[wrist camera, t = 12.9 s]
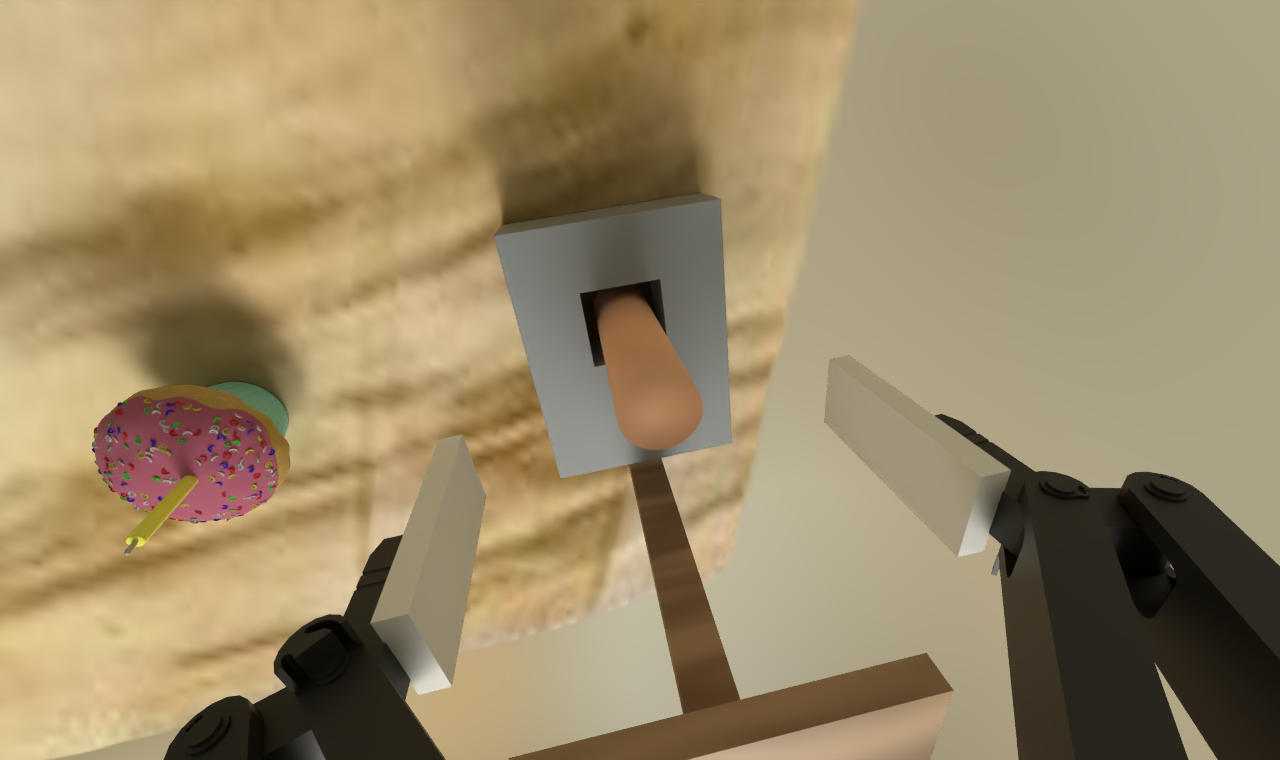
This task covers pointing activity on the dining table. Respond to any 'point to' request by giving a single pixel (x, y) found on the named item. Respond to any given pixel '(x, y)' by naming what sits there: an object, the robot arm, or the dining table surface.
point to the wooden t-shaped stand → (769, 723)
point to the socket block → (605, 258)
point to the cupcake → (193, 452)
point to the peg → (644, 372)
